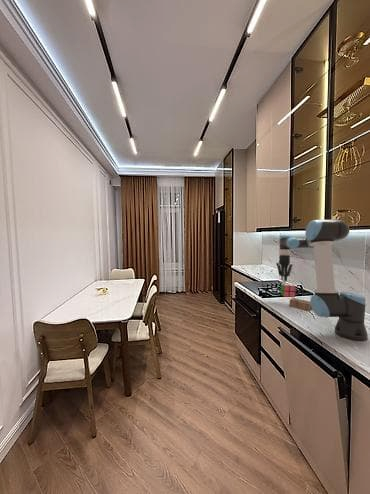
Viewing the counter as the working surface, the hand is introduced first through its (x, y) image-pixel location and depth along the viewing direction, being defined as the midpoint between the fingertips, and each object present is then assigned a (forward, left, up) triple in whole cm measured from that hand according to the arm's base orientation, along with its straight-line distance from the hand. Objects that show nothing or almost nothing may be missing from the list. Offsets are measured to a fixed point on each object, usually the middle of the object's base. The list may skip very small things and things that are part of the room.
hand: (284, 284), depth 188 cm
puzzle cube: (+24, +8, -15) cm, 30 cm away
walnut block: (0, -6, -12) cm, 14 cm away
